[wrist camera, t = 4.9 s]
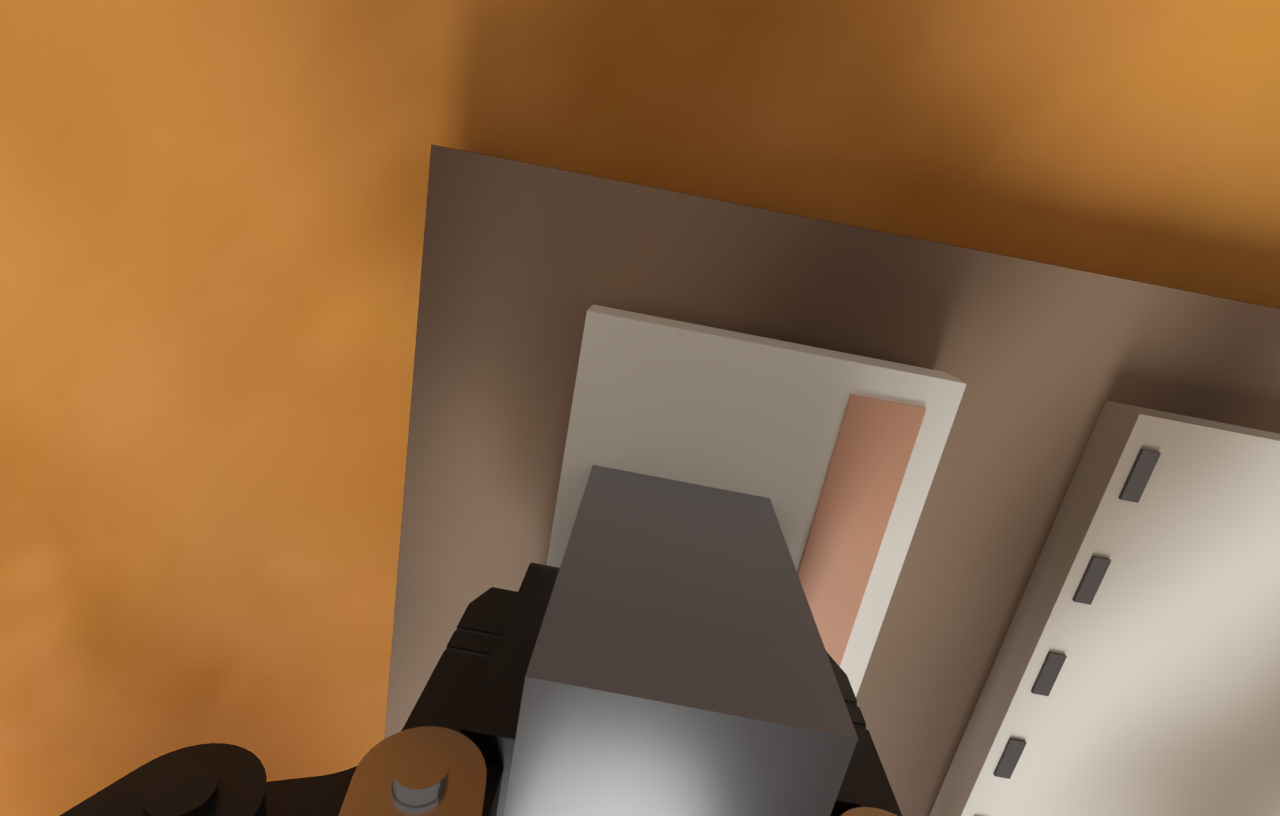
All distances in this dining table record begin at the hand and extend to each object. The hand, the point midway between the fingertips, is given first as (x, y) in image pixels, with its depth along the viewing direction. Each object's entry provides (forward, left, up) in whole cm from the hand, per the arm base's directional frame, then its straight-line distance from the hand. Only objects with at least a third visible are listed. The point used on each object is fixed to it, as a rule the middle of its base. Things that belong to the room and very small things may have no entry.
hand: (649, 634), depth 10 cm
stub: (-1, 0, -2) cm, 2 cm away
